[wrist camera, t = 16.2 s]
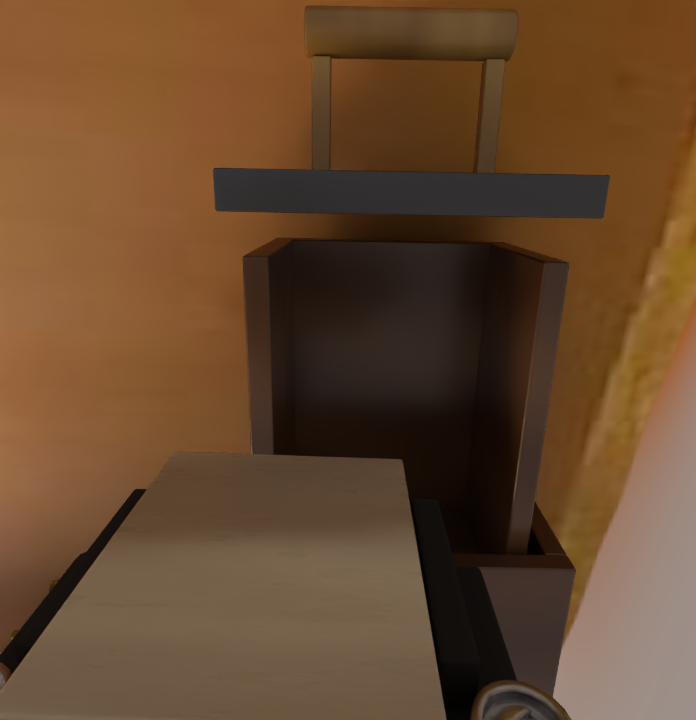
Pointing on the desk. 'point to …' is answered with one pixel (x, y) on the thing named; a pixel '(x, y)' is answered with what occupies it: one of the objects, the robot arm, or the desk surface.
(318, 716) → the block
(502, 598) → the cabinet
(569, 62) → the desk surface
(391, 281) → the drawer
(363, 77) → the desk surface
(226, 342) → the desk surface
